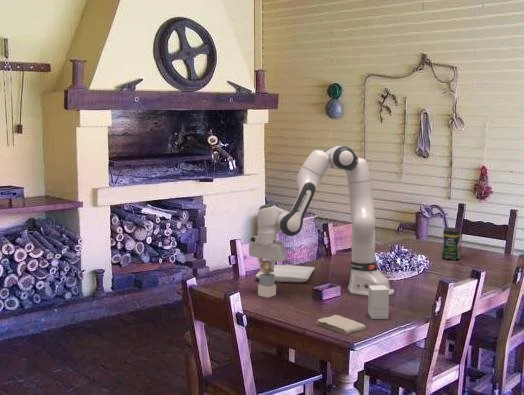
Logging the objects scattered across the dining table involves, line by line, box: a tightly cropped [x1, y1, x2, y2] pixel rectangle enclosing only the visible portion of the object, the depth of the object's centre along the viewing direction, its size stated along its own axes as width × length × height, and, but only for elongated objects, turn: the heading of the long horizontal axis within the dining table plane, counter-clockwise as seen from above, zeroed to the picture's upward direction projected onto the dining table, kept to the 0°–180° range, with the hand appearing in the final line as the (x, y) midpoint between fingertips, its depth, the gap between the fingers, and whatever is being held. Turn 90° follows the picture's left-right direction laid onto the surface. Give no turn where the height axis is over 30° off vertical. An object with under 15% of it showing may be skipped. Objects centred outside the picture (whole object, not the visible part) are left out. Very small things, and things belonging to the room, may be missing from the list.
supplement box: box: [367, 285, 390, 320], centre depth 285 cm, size 7×7×13 cm
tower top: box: [259, 273, 276, 287], centre depth 318 cm, size 5×5×5 cm
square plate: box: [255, 264, 316, 284], centre depth 354 cm, size 27×27×4 cm
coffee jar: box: [441, 226, 461, 260], centre depth 395 cm, size 10×8×19 cm
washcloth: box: [315, 314, 367, 335], centre depth 272 cm, size 12×18×3 cm, turn 39°
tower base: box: [257, 284, 277, 298], centre depth 319 cm, size 6×6×5 cm
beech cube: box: [259, 259, 274, 274], centre depth 317 cm, size 4×4×5 cm
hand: (266, 268), depth 318 cm, fingers closed on beech cube, 4 cm apart
